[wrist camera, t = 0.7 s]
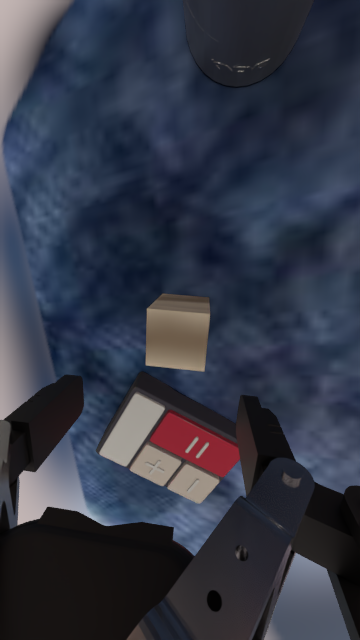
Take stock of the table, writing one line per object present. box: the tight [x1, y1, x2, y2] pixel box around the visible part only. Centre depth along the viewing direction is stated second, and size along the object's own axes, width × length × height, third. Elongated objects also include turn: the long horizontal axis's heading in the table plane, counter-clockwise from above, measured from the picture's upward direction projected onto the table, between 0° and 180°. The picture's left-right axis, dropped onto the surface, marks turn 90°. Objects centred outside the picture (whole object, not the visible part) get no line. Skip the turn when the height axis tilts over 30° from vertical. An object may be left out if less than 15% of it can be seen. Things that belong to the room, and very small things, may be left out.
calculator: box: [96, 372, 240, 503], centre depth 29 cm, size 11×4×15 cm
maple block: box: [146, 294, 210, 372], centre depth 22 cm, size 5×5×7 cm
